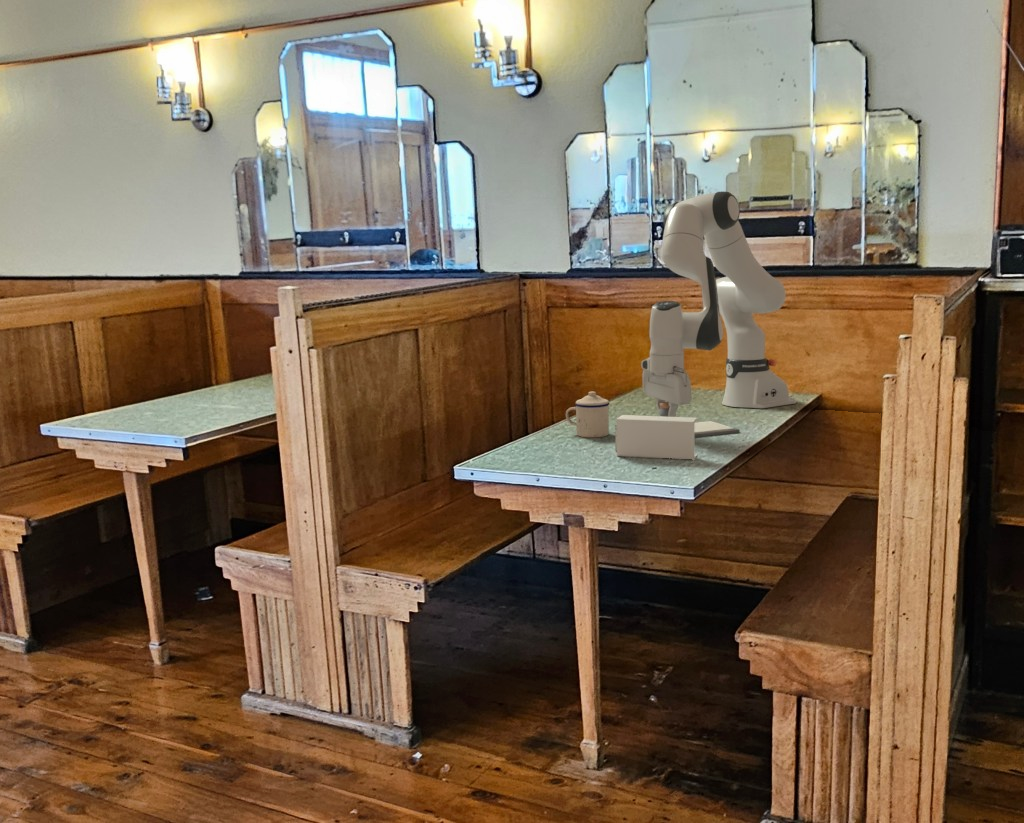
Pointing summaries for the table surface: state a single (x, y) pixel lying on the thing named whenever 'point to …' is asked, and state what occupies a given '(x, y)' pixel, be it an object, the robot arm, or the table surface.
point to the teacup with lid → (591, 416)
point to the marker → (664, 408)
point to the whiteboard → (712, 429)
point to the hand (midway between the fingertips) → (666, 417)
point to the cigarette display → (655, 437)
